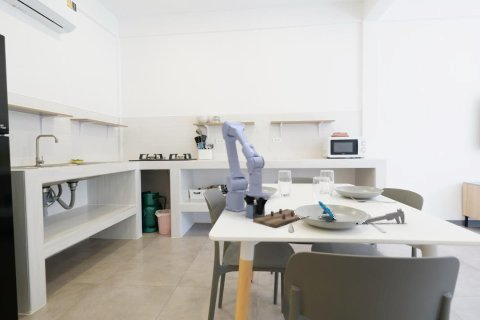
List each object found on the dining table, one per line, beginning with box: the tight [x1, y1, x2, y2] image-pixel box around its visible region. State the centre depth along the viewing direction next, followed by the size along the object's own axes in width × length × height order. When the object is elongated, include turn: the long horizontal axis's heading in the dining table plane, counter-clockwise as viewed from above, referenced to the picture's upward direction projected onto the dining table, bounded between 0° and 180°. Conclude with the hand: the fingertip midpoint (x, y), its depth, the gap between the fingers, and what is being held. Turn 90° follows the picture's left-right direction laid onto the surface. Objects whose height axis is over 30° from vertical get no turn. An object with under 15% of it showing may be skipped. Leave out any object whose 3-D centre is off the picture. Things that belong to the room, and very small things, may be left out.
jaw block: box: [245, 201, 266, 220], centre depth 118 cm, size 4×8×6 cm, turn 134°
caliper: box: [361, 208, 406, 225], centre depth 106 cm, size 20×1×6 cm, turn 92°
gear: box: [317, 201, 335, 218], centre depth 114 cm, size 11×6×10 cm
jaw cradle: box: [252, 208, 301, 229], centre depth 114 cm, size 12×24×3 cm, turn 134°
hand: (255, 213), depth 118 cm, fingers open, 5 cm apart
